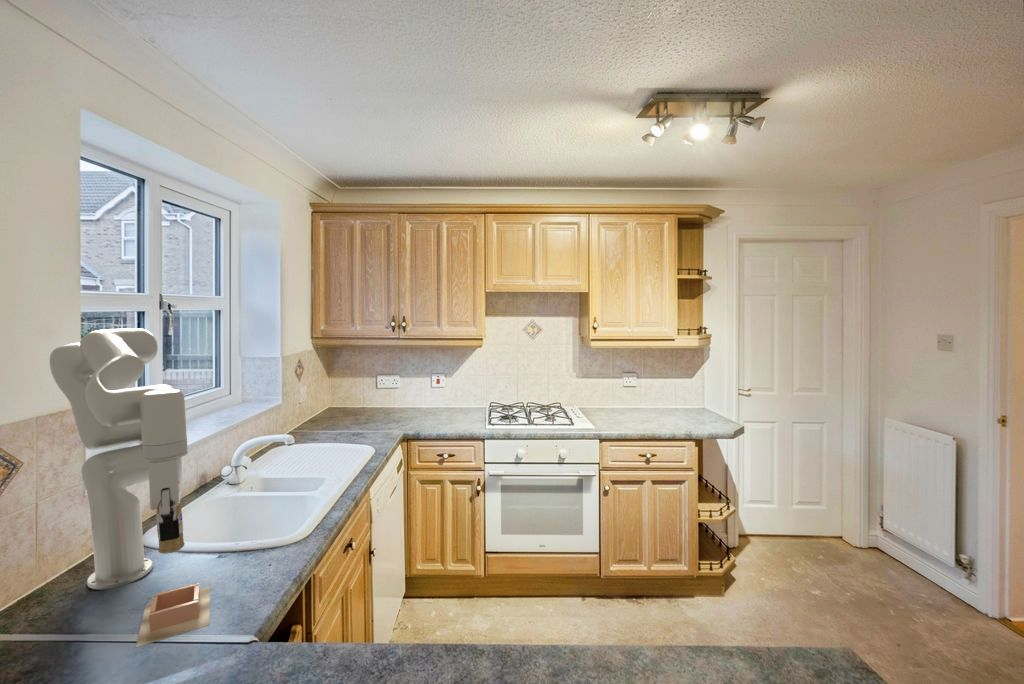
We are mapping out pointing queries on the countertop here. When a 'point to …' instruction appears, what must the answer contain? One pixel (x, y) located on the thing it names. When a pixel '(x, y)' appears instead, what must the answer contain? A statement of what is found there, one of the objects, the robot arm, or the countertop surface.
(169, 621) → the collar
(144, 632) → the stand board
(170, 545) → the sprinkles bottle
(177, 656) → the countertop surface
